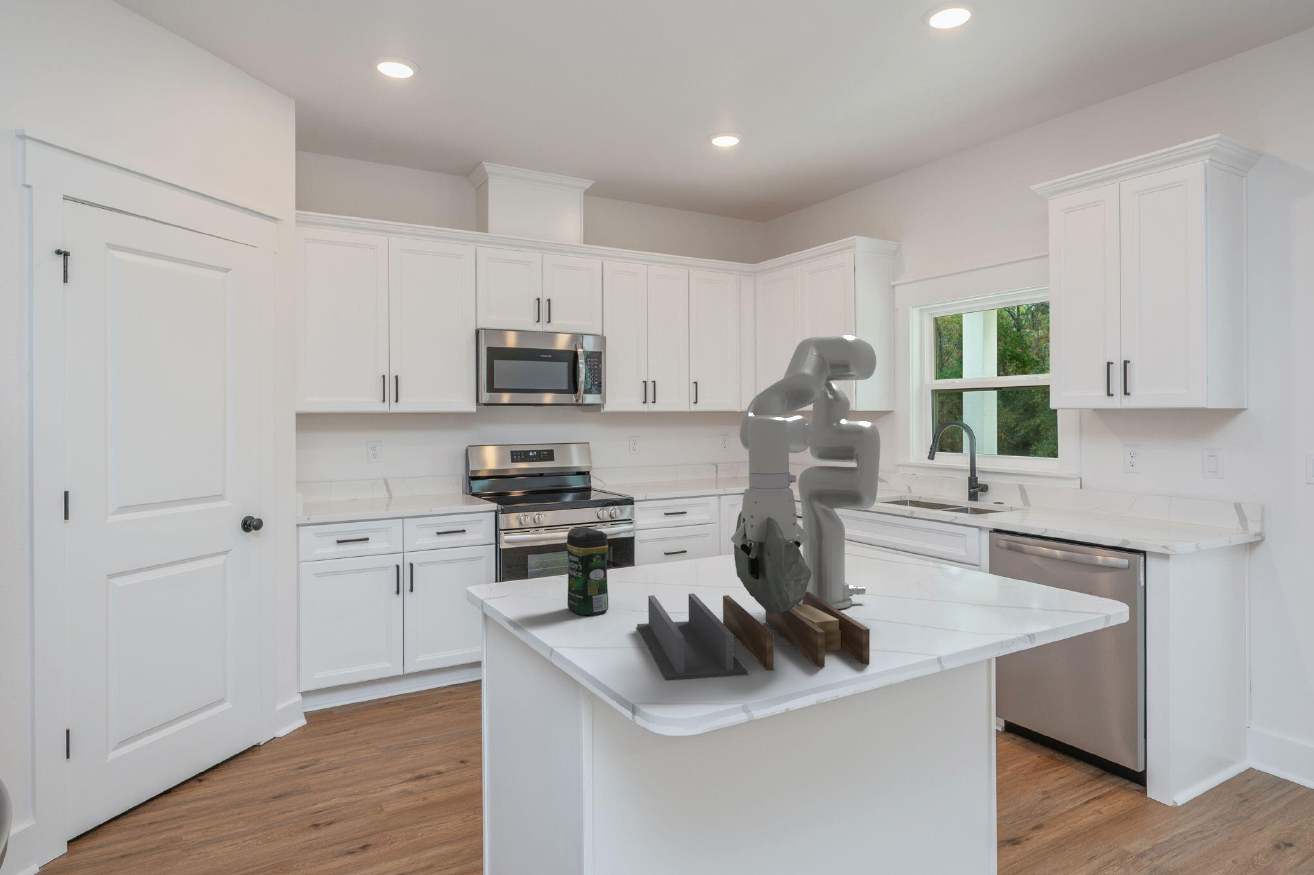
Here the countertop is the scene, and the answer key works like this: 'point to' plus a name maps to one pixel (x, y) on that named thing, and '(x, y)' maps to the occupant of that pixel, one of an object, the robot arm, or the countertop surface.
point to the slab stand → (690, 643)
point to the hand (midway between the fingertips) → (770, 576)
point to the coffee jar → (587, 571)
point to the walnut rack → (795, 632)
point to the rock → (774, 571)
